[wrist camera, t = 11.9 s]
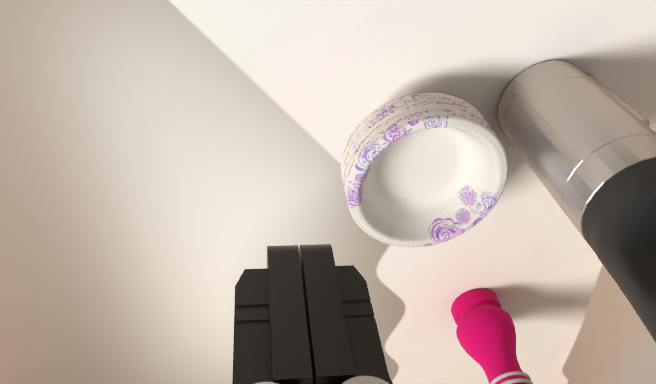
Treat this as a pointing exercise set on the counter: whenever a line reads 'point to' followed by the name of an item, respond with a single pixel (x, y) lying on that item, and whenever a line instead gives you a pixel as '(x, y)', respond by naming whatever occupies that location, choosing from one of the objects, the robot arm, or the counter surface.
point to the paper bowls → (422, 170)
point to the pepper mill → (488, 336)
